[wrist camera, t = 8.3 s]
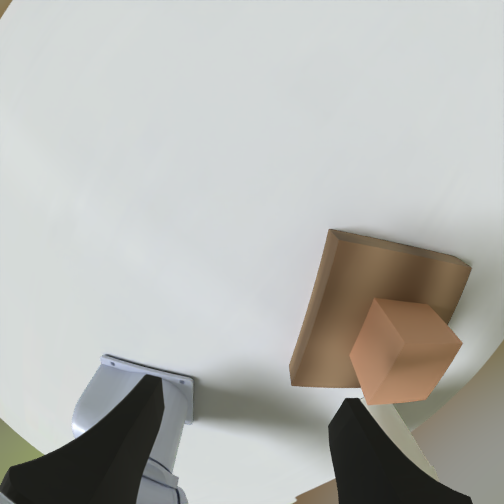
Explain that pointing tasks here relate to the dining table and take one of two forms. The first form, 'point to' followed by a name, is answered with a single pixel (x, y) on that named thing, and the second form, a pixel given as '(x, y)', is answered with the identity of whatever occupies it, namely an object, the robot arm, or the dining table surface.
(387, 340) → the terracotta block
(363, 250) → the walnut plinth
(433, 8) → the dining table surface
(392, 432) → the foam cup
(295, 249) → the dining table surface
